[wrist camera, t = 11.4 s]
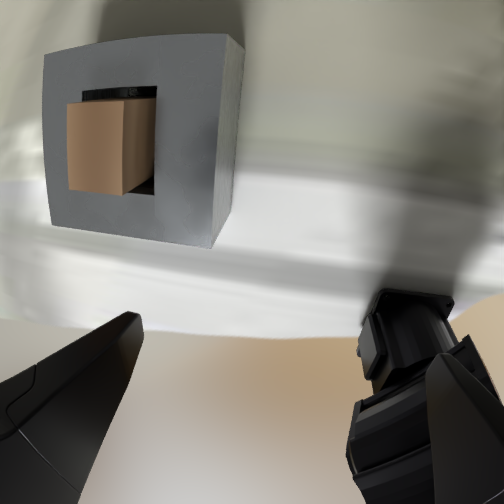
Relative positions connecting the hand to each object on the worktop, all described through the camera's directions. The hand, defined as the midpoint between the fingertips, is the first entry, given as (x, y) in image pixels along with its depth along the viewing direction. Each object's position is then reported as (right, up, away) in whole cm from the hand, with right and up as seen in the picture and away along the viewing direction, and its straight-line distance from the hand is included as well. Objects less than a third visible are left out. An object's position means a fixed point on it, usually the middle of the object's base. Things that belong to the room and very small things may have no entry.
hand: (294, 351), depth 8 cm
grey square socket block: (-7, +10, +9) cm, 16 cm away
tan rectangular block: (-7, +10, +9) cm, 16 cm away
